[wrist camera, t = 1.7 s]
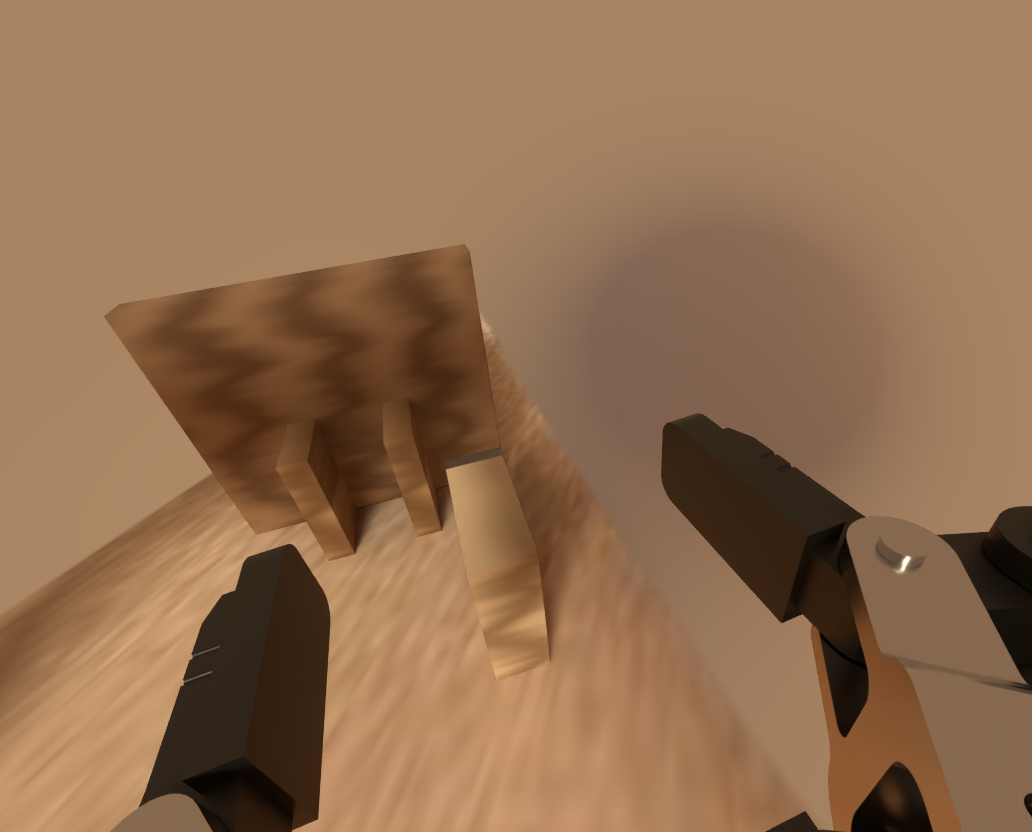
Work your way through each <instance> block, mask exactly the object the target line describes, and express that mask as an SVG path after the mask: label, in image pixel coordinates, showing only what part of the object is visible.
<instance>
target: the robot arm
mask: <svg viewBox="0 0 1032 832" xmlns="http://www.w3.org/2000/svg"><path fill="white" fill-rule="evenodd" d="M661 477H662V483H663V486H664V489H665V491H666V493H667V495H668V497H669V499H670V500H671V501H672V503H673V504H674V505H675V506H676V507H677V508H678V509H679V510H680V511H681V513H682V514H683V515H684V516H685V517H686V518H687V519H688V520H689V521H690V523H691V524H692V525H693V526H694V527H695V528H696V529H697V530H698V531H699V532H700V534H701V535H702V536H703V537H704V538H705V539H706V540H707V541H708V542H709V544H710V545H711V546H712V547H713V548H714V549H715V550H716V551H717V552H718V554H719V555H720V556H721V557H722V558H723V559H724V560H725V561H726V562H727V563H728V565H729V566H730V567H731V568H732V569H733V570H734V571H735V572H736V573H737V575H738V576H739V577H740V578H741V579H742V580H743V581H744V582H745V583H746V585H748V587H749V588H750V589H751V590H752V591H753V592H754V593H755V594H756V595H757V597H758V598H759V599H760V600H761V601H762V602H763V603H764V604H765V606H766V607H767V608H768V609H769V610H770V611H771V612H772V613H773V614H774V616H775V617H776V618H777V619H778V620H779V621H780V622H781V623H783V622H785V621H787V620H790V619H792V618H795V617H797V616H799V615H802V614H803V615H804V616H805V617H806V618H807V619H808V620H809V621H810V622H811V623H812V624H813V625H812V628H811V639H812V645H813V650H814V656H815V661H816V667H817V673H818V678H819V684H820V689H821V694H822V700H823V706H824V711H825V717H826V723H827V728H828V734H829V741H830V764H829V775H828V777H829V778H828V784H829V785H828V786H829V800H830V808H831V814H832V819H833V826H834V831H831V830H818V829H817V827H816V826H815V825H814V823H813V822H812V820H811V819H810V817H809V816H808V814H807V813H806V811H804V812H802V813H801V814H799V815H797V816H795V817H793V818H791V819H789V820H787V821H785V822H783V823H781V824H779V825H777V826H776V827H774V828H772V829H770V830H768V831H766V832H1032V506H1022V507H1014V508H1009V509H1007V510H1005V511H1003V512H1002V513H1001V514H999V516H998V518H997V520H996V521H995V522H994V524H993V526H992V527H991V529H990V531H989V532H979V533H962V534H947V535H936V534H934V533H932V532H931V531H929V530H927V529H925V528H923V527H921V526H918V525H916V524H914V523H911V522H908V521H905V520H901V519H897V518H892V517H884V516H871V517H865V516H863V515H862V514H860V513H859V512H857V511H856V510H855V509H853V508H852V507H850V506H849V505H848V504H846V503H845V502H843V501H842V500H840V499H839V498H838V497H836V496H835V495H834V494H832V493H831V492H829V491H828V490H827V489H825V488H824V487H822V486H821V485H820V484H818V483H817V482H815V481H814V480H813V479H811V478H810V477H808V476H807V475H806V474H804V473H803V472H801V471H800V470H798V469H797V468H795V467H793V468H792V467H791V465H790V463H789V462H787V461H786V460H784V459H783V458H782V457H780V456H779V455H774V453H773V451H772V450H770V449H769V448H768V447H766V446H765V445H764V444H762V443H761V442H759V441H758V440H756V439H755V438H754V437H751V436H748V435H746V434H743V433H741V432H738V431H736V430H733V429H730V428H726V429H722V428H720V427H719V426H718V425H717V424H715V423H714V422H713V421H711V420H710V419H709V418H707V417H706V416H704V415H702V414H694V415H691V416H688V417H685V418H681V419H679V420H675V421H673V422H669V423H667V424H666V425H665V426H664V429H663V442H662V470H661ZM329 637H330V611H329V605H328V602H327V598H326V596H325V593H324V591H323V589H322V588H321V586H320V585H319V583H318V582H317V580H316V578H315V577H314V575H313V574H312V572H311V571H310V569H309V567H308V566H307V564H306V563H305V561H304V559H303V558H302V556H301V555H300V553H299V552H298V550H297V549H296V548H295V546H293V545H292V544H287V545H284V546H281V547H278V548H275V549H272V550H268V551H265V552H262V553H259V554H256V555H253V556H250V557H248V558H247V559H246V560H245V561H244V563H243V566H242V569H241V573H240V576H239V580H238V583H237V587H236V590H235V591H233V592H230V593H227V594H224V595H222V596H221V598H220V599H219V600H218V602H217V603H216V605H215V606H214V607H213V609H212V610H211V612H210V613H209V614H208V616H207V617H206V619H205V620H204V622H203V623H202V625H201V628H200V631H199V634H198V637H197V640H196V643H195V646H194V649H193V652H192V656H193V658H192V659H191V660H189V663H188V666H187V669H186V672H185V675H184V678H183V680H184V685H183V686H181V687H180V690H179V693H178V696H177V699H176V702H175V705H174V708H173V711H172V714H171V717H170V720H169V723H168V726H167V729H166V732H165V735H164V738H163V740H162V743H161V746H160V749H159V752H158V755H157V758H156V761H155V764H154V767H153V770H152V773H151V776H150V779H149V782H148V785H147V788H146V791H145V793H144V796H143V798H142V801H141V803H140V805H139V807H138V808H137V809H136V810H135V811H133V812H132V813H131V814H129V815H128V816H127V817H126V818H125V819H123V820H122V821H121V822H120V823H119V824H118V825H117V826H116V827H115V828H114V829H113V830H112V831H111V832H292V830H294V829H296V828H299V827H301V826H303V825H306V824H308V823H310V822H313V821H315V820H317V819H318V813H319V797H320V781H321V765H322V749H323V733H324V717H325V701H326V685H327V669H328V653H329Z"/></svg>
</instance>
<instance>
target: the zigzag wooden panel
mask: <svg viewBox="0 0 1032 832" xmlns="http://www.w3.org/2000/svg"><path fill="white" fill-rule="evenodd" d="M104 317H105V319H106V320H107V321H108V323H109V324H110V326H111V327H112V329H113V330H114V331H115V333H116V334H117V336H118V337H119V339H120V340H121V342H122V343H123V344H124V346H125V347H126V349H127V350H128V351H129V353H130V354H131V356H132V357H133V359H134V360H135V361H136V363H137V364H138V366H139V367H140V369H141V370H142V372H143V373H144V374H145V376H146V377H147V379H148V380H149V382H150V383H151V384H152V386H153V387H154V389H155V390H156V392H157V393H158V395H159V396H160V397H161V399H162V400H163V402H164V403H165V405H166V406H167V407H168V409H169V410H170V412H171V413H172V415H173V416H174V417H175V419H176V420H177V422H178V423H179V424H180V426H181V427H182V429H183V430H184V432H185V433H186V435H187V436H188V438H189V439H190V440H191V442H192V443H193V445H194V446H195V447H196V449H197V450H198V452H199V453H200V455H201V456H202V458H203V459H204V460H205V462H206V463H207V465H208V466H209V468H210V469H211V471H212V472H213V473H214V475H215V476H216V478H217V479H218V481H219V482H220V483H221V485H222V486H223V488H224V489H225V491H226V492H227V493H228V495H229V496H230V498H231V499H232V501H233V502H234V503H235V505H236V506H237V508H238V509H239V511H240V512H241V513H242V515H243V516H244V518H245V519H246V521H247V522H248V524H249V525H250V526H251V528H252V529H253V531H254V532H255V534H259V533H263V532H267V531H271V530H275V529H279V528H283V527H286V526H290V525H294V524H298V523H302V522H307V523H308V525H309V527H310V528H311V530H312V532H313V534H314V535H315V537H316V539H317V541H318V542H319V544H320V546H321V548H322V549H323V551H324V553H325V554H326V556H327V558H328V560H329V561H330V560H334V559H338V558H341V557H345V556H349V555H352V554H355V540H356V516H357V508H361V507H365V506H369V505H372V504H376V503H380V502H384V501H388V500H392V499H396V498H400V497H403V498H404V501H405V504H406V507H407V509H408V512H409V515H410V518H411V520H412V523H413V526H414V529H415V531H416V534H417V537H419V536H423V535H426V534H430V533H434V532H437V531H441V530H442V529H441V522H440V516H439V510H438V504H437V497H436V491H435V488H439V487H443V486H447V485H449V483H448V478H447V473H446V468H445V462H444V461H445V460H449V459H453V458H457V457H461V456H465V455H469V454H473V453H477V452H481V451H485V450H490V449H494V448H498V447H499V448H500V441H499V435H498V429H497V422H496V416H495V409H494V403H493V397H492V390H491V384H490V378H489V371H488V365H487V359H486V352H485V346H484V340H483V333H482V327H481V320H480V314H479V308H478V302H477V296H476V289H475V282H474V277H473V270H472V264H471V257H470V251H469V250H468V248H467V247H466V245H465V244H463V245H458V246H451V247H446V248H440V249H434V250H428V251H423V252H417V253H411V254H405V255H400V256H394V257H388V258H383V259H377V260H371V261H365V262H359V263H354V264H348V265H343V266H337V267H331V268H325V269H320V270H314V271H308V272H302V273H297V274H291V275H285V276H279V277H273V278H268V279H262V280H256V281H251V282H245V283H239V284H233V285H228V286H222V287H216V288H210V289H205V290H199V291H194V292H187V293H182V294H176V295H170V296H164V297H159V298H153V299H147V300H142V301H136V302H131V303H125V304H120V305H118V306H117V307H115V308H114V309H113V310H112V311H110V312H109V313H108V314H106V315H105V316H104ZM500 451H501V448H500Z"/></svg>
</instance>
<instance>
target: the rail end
mask: <svg viewBox="0 0 1032 832" xmlns="http://www.w3.org/2000/svg"><path fill="white" fill-rule="evenodd" d="M444 462H445V468H446V473H447V478H448V483H449V488H450V493H451V498H452V503H453V508H454V513H455V518H456V523H457V528H458V533H459V538H460V543H461V548H462V553H463V558H464V563H465V568H466V573H467V577H468V580H469V584H470V587H471V591H472V595H473V598H474V602H475V605H476V609H477V612H478V616H479V619H480V623H481V627H482V630H483V634H484V637H485V641H486V644H487V648H488V651H489V655H490V659H491V662H492V666H493V669H494V673H495V676H496V680H500V679H503V678H506V677H509V676H512V675H515V674H518V673H521V672H524V671H527V670H530V669H533V668H536V667H539V666H542V665H545V664H548V663H550V655H549V646H548V637H547V628H546V620H545V611H544V602H543V593H542V584H541V575H540V566H539V557H538V551H537V548H536V546H535V543H534V540H533V538H532V535H531V532H530V529H529V527H528V524H527V521H526V518H525V516H524V513H523V510H522V508H521V505H520V502H519V499H518V497H517V494H516V491H515V489H514V486H513V483H512V480H511V478H510V475H509V472H508V470H507V467H506V464H505V461H504V459H503V456H502V453H501V451H500V448H499V447H498V448H494V449H490V450H485V451H481V452H477V453H473V454H469V455H465V456H461V457H457V458H453V459H449V460H445V461H444Z"/></svg>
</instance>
